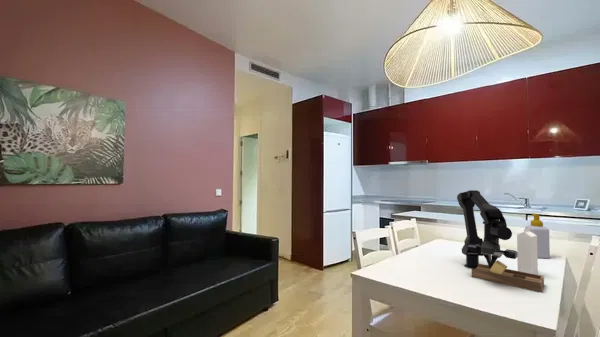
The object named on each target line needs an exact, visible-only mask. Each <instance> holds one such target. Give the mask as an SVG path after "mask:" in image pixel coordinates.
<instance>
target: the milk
mask: <svg viewBox="0 0 600 337" xmlns="http://www.w3.org/2000/svg"><path fill="white" fill-rule="evenodd" d="M516 244H517V245H516V247H517V248H516V251H517V258H516V259H517V271H520V272H525V273H530V274H536V275H539V273H538V272H539V270H538V266H539V264H538V261H539V260H538V259H539V258H537V235H535V234H534V233H532V232H530V228H527V229H525V228H524V229H523V232H521V233H517V234H516Z"/></svg>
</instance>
